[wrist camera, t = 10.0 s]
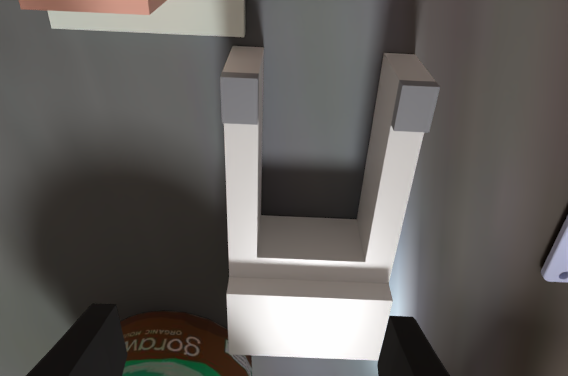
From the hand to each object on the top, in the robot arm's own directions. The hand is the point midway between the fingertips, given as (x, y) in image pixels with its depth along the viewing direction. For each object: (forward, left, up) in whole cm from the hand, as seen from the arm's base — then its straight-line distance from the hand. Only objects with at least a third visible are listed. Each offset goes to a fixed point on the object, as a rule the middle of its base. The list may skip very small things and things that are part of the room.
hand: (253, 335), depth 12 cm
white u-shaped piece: (-2, +2, -9) cm, 10 cm away
